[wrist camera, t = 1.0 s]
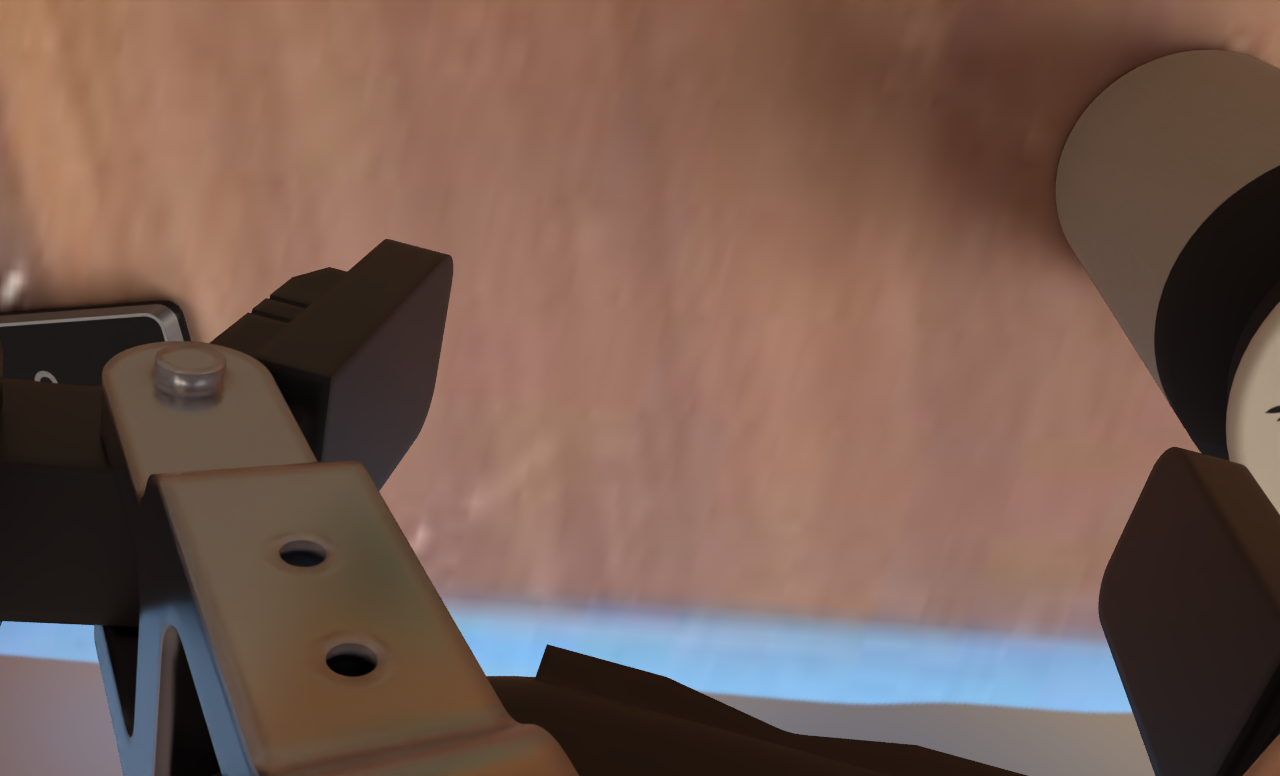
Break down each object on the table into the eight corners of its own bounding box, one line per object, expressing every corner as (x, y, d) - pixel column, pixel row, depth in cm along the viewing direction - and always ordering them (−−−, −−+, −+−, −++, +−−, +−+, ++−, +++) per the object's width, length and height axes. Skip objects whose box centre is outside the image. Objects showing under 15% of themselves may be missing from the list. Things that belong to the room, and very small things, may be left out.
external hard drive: (-71, 312, 47) (-107, 331, 45) (189, 293, 45) (163, 311, 43) (-11, 470, 49) (-43, 494, 48) (236, 458, 48) (213, 482, 46)
